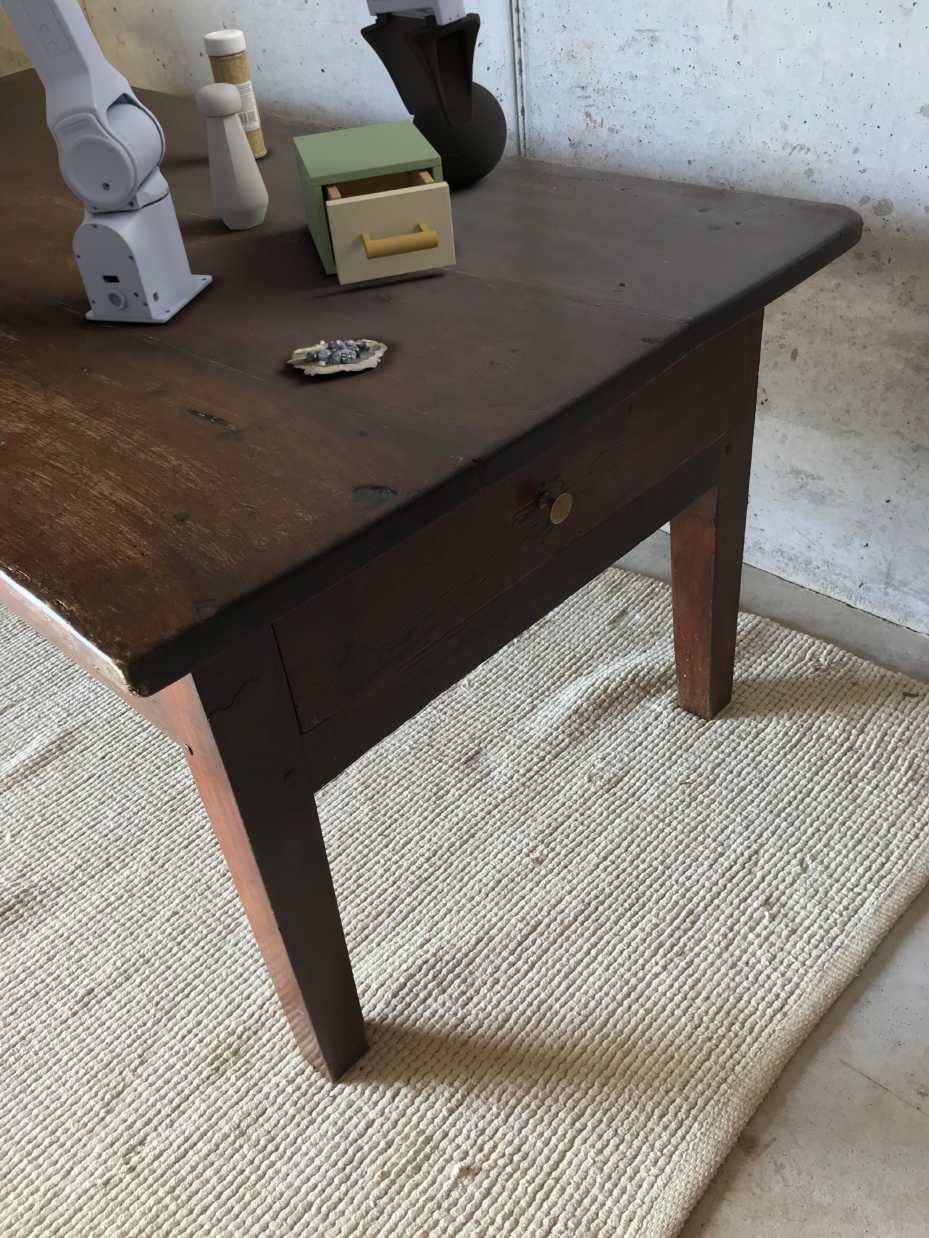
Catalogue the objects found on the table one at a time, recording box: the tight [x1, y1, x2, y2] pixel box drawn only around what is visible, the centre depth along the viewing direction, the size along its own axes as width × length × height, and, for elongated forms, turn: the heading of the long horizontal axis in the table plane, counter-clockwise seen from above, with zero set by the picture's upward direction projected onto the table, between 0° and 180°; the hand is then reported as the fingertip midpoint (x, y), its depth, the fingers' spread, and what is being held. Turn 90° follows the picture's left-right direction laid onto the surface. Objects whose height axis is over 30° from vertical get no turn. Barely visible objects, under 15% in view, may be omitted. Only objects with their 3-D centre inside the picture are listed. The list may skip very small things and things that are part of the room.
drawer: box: [321, 168, 457, 286], centre depth 91 cm, size 17×10×7 cm, turn 14°
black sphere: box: [412, 81, 508, 186], centre depth 108 cm, size 10×10×10 cm
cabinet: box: [292, 118, 443, 276], centre depth 97 cm, size 14×12×9 cm
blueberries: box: [286, 338, 388, 377], centre depth 79 cm, size 7×8×2 cm
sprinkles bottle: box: [203, 29, 267, 160], centre depth 121 cm, size 5×5×14 cm
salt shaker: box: [195, 82, 269, 230], centre depth 103 cm, size 6×6×13 cm
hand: (440, 116), depth 83 cm, fingers open, 7 cm apart
